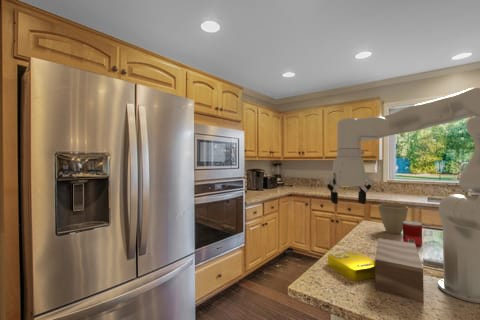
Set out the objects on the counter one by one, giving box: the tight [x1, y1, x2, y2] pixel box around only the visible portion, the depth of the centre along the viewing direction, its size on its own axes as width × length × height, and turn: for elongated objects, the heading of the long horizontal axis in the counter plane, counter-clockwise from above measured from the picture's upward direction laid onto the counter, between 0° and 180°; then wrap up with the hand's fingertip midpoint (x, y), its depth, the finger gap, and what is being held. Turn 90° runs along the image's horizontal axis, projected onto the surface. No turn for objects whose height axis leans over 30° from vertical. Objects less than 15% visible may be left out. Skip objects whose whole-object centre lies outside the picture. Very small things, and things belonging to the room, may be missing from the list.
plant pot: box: [378, 203, 409, 235], centre depth 137 cm, size 15×15×16 cm
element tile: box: [327, 250, 376, 282], centre depth 91 cm, size 15×15×5 cm
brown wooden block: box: [374, 237, 425, 303], centre depth 83 cm, size 25×12×10 cm, turn 147°
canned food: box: [402, 220, 423, 248], centre depth 117 cm, size 8×8×11 cm
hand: (348, 203), depth 79 cm, fingers open, 9 cm apart
